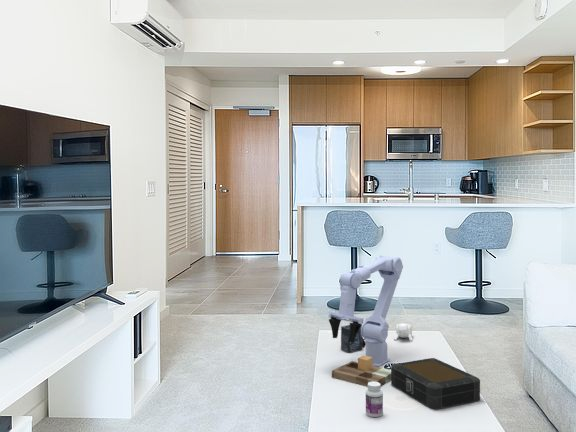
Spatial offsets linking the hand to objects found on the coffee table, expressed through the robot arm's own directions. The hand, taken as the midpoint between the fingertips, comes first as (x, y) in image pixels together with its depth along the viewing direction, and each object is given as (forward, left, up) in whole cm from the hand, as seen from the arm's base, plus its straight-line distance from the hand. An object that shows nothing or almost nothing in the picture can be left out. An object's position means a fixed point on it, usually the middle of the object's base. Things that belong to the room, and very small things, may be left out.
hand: (343, 339), depth 197 cm
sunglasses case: (-38, -20, -13) cm, 45 cm away
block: (-4, +7, -11) cm, 14 cm away
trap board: (-1, +8, -13) cm, 15 cm away
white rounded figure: (-56, -4, -14) cm, 58 cm away
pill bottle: (+24, +27, -13) cm, 39 cm away
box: (-27, -14, -13) cm, 33 cm away
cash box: (-4, +34, -14) cm, 37 cm away
